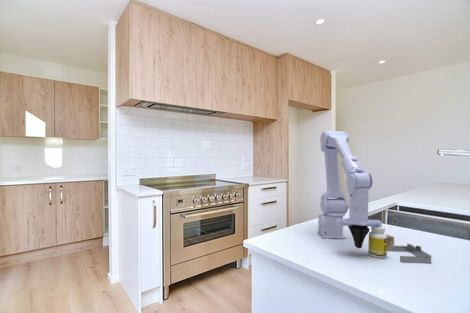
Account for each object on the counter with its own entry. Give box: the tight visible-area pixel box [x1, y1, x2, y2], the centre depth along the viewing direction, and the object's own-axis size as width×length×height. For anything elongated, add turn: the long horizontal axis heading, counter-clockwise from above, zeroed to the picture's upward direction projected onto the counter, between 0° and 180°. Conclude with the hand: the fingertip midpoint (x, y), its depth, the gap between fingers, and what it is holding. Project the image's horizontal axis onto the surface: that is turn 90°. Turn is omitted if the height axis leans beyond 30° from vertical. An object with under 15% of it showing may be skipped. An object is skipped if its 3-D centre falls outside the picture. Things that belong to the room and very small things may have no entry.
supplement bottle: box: [367, 225, 388, 259], centre depth 82 cm, size 5×5×10 cm
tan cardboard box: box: [385, 233, 395, 246], centre depth 93 cm, size 6×4×3 cm, turn 107°
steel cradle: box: [387, 243, 432, 264], centre depth 82 cm, size 9×10×3 cm
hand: (358, 247), depth 82 cm, fingers closed
